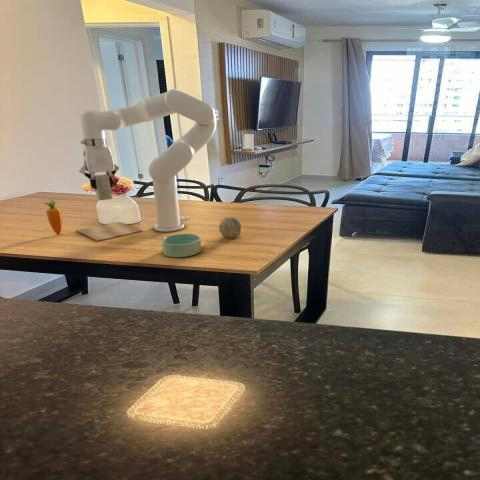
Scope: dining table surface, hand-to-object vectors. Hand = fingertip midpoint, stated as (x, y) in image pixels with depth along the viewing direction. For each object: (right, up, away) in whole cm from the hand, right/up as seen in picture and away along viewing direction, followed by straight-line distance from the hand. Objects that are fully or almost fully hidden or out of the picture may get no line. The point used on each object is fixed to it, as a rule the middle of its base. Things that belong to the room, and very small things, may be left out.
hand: (102, 187), depth 158 cm
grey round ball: (+52, -21, +3) cm, 56 cm away
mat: (-1, -18, +6) cm, 19 cm away
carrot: (-19, -20, 0) cm, 27 cm away
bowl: (+39, -26, -15) cm, 49 cm away
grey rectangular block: (0, -5, +2) cm, 5 cm away
